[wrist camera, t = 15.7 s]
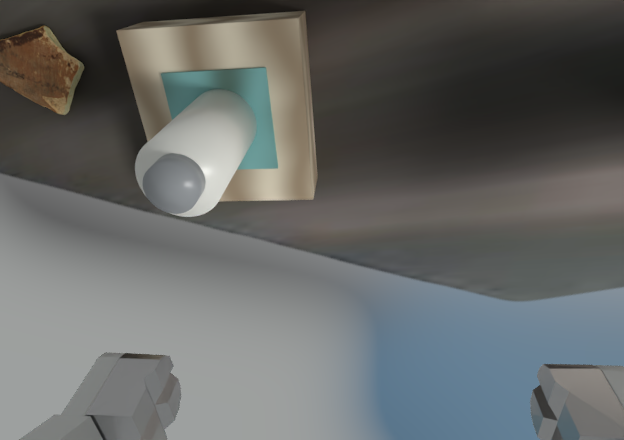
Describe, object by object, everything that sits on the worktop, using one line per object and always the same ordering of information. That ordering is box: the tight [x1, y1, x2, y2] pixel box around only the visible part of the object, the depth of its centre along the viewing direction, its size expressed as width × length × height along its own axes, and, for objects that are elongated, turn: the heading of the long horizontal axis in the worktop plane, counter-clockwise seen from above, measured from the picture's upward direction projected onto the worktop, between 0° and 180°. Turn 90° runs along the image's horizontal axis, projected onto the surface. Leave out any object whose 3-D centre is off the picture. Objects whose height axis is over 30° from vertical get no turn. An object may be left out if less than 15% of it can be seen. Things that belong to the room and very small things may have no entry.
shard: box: [0, 26, 84, 115], centre depth 42 cm, size 11×8×2 cm
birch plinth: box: [116, 11, 317, 201], centre depth 41 cm, size 15×16×5 cm
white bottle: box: [135, 89, 257, 217], centre depth 33 cm, size 6×6×13 cm
